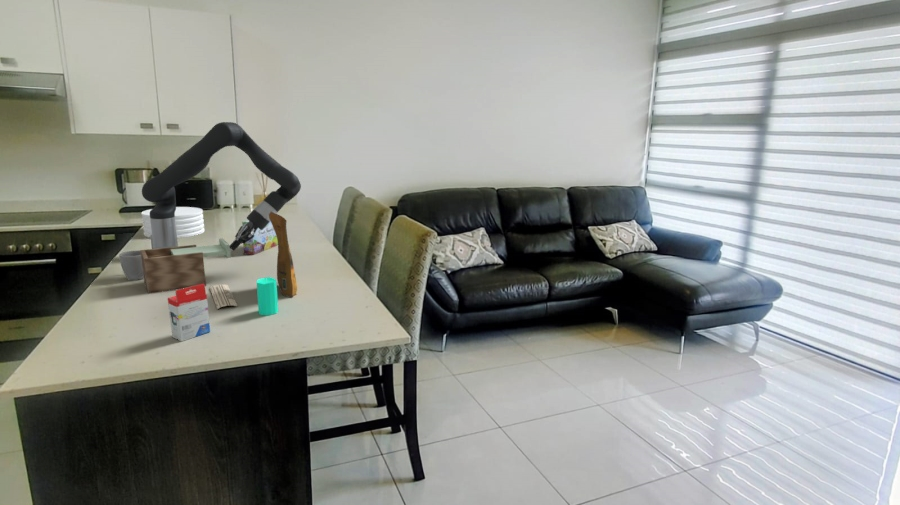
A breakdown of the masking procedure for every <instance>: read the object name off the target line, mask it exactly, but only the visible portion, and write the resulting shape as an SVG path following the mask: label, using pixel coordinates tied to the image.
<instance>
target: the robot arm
mask: <svg viewBox="0 0 900 505" xmlns="http://www.w3.org/2000/svg"><path fill="white" fill-rule="evenodd" d="M226 147H236V148H238V149H239V150H241V151H242V152H244V153H245V154H246V156H248V157H249V159H250V160H251V162H252V164H253V165H254V167H256V169H258V170H259V171H260V172H261V173H262V174H263V175H264V176H266V177H267V178H268V179H270V180H272V181H274V182H276V183H277V184H278V185H279V188H278V189H276V190H275V191H271V192H270V193H268V195H266V197H265V198H264V199H263V200H262V201H261V202H259V204H257V205H256V207H255V208H253V210H252V211H251V212H250V213H249V214H248V215H247V216H246V220H249V222H248V223H247V224H245V225H244V226H242V225H241V226H240V227H239V229H238V231H237V232H236V234H235V236H234V237H235V238H234V240H233V242H231V244H229V245H230V250H231V251H233V252H234V251H236V250H237V248H239V246H240V245H243V244H244V243H246V242H247V241H249V240H250V239H252V238H253V237H254V236H255V235H254V234H255V232H256V230H257V229H258V228H259V229H260V230H263V229H264V228H265V227H266V226H267V224H268V223H269V222H270V219H269V213H270V212H271V211H272V212H273V213H275V214H278V213H279V211H280V210H281V209H282V208H283V207H284V206H285V205H286V204H287V203H288V202H290V201H291V200H292V199H294V198H295V197H296V196H297V195H298V194H299V193H300V190H301V189H302V188H301V187H302V184H301V181H300V179H299V178H298V176H297V175H296V174H294V172H292V171H291V170H289V169H288V168H286V167H284V166H282V164H281V163H279V162H278V161H277V160H275V158H273V157H272V156H271V155H269V154H268V152H266V151H265V150H264V149H262V147H260V146H259V145H258V144H257V142H256V141H255V140H254V139H252V138H251V136H250V135H249V134H248V133H247V132H246V131H245V129H244V128H242V126H241V125H239V124H238V123H237V122H234V121H233V122H232V121H231V122H230V121H228V122H227V121H226V122H225V121H222V122H218V123H216V124H215V125H214V126H213V127H212V128H210V130H209V131H207V133H206V134H205V135H204V136H203V137H202V138H201V139H200V140H199V141H197V142H196V143H195V144H193V146H191V147H190V148H188V149H187V150H186V151H184V152H183V153H182V154H181V155H180V156H179V157H177V158H176V159H175V160H174V161H172V163H170V164H169V165H168V166H167V167H166V168H165V169H164V170H163V171H161V172H160V173H158V174H157V175H155V176H154V177H152V178H151V179H149V180H147V181H146V182H144V183H143V185H142V189H141V195H142V197H143V199H145V200H146V201H147V202H150V203H155V205H154V207H153V208H151V209H152V210H151V211H150V221H151V230H152V235H150V237H149V238H150V245H151V249H157V248H168V247H178V246H179V244H178V242H179V241H178V238H177V232H176V223H175V211H176V207H177V200H176V199H177V198H176V197H177V196H176V188H175V186H178V185H179V184H182V183H185V182H187V181H189V180H191V179H192V178H194V177H195V176H197V175H199V174H200V173H201V172H202V171H203V170H205V168H206V167H208V165H209V164H210V161H211V158H212V157H213V156H214V154H216V153H218V152H219V151H220V150H222V149H224V148H226Z"/></svg>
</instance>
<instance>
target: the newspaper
mask: <svg viewBox="0 0 900 505" xmlns="http://www.w3.org/2000/svg"><path fill="white" fill-rule="evenodd" d="M209 290H210V293H212V294H211V296H212V299H213V301H214V303H215V304H216V305H215V307H216V310H218V309H219V310H220V308H222V307H223V308H224V307H227V306H231V307H232V306H234V307H235V308H237V307H238V304H237V302H236V300H235V298H234V296H233V293H232V292H231V289H230V288H229V285H228V284H216V285H215V284H214V285H212V286H210V287H209Z"/></svg>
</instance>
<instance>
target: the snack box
mask: <svg viewBox="0 0 900 505" xmlns="http://www.w3.org/2000/svg"><path fill="white" fill-rule="evenodd" d="M248 222H249V220H248V219H246V220H244V221H241V226H244V225H245V224H247V223H248ZM254 235H255V236H254V237H253V238H252V239H250V240H249V241H247V242H246V243H244V244H243V243H242V245H243V247H242V248H243V254H244V255H251V256H254V255H256V254H258V253H259V254H260V253H261V252H264V251H267V250H268V249H269V250H270V249H272V248H274V247H276V246H277V247H278V241H277V236H276V233H275V231H274V228H273V225H272V223H271V221H270V222H269V223H268V224H267V226H266V227H265V228H264V229H263V230H260V229H259V228H258V229H257V230H256V232H255V234H254Z"/></svg>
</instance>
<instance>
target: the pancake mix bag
mask: <svg viewBox="0 0 900 505" xmlns="http://www.w3.org/2000/svg"><path fill="white" fill-rule="evenodd" d="M269 219H270V221H271V223H272V225H273V228H274V231H275V233H276V236H277V241H278V245H277V251H278V252H277V259H276V260H277V263H276V282H277V284H278V288H279V290H280V292H281V294H282V295H283V296H284V297H288V298H294V296H297V293H298V292H297V291H298V284H297V278H296V272H295V268H294V267H295V266H294V261H293V255H292V252H291V247H290V244H289V239H288V231H287V230H288V229H287V221H288V220H287V219H286V218H284V217H283V216H282V215H280V214H278V213H277V214H275V213H273V212H272V211H271V212H270V213H269Z"/></svg>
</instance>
